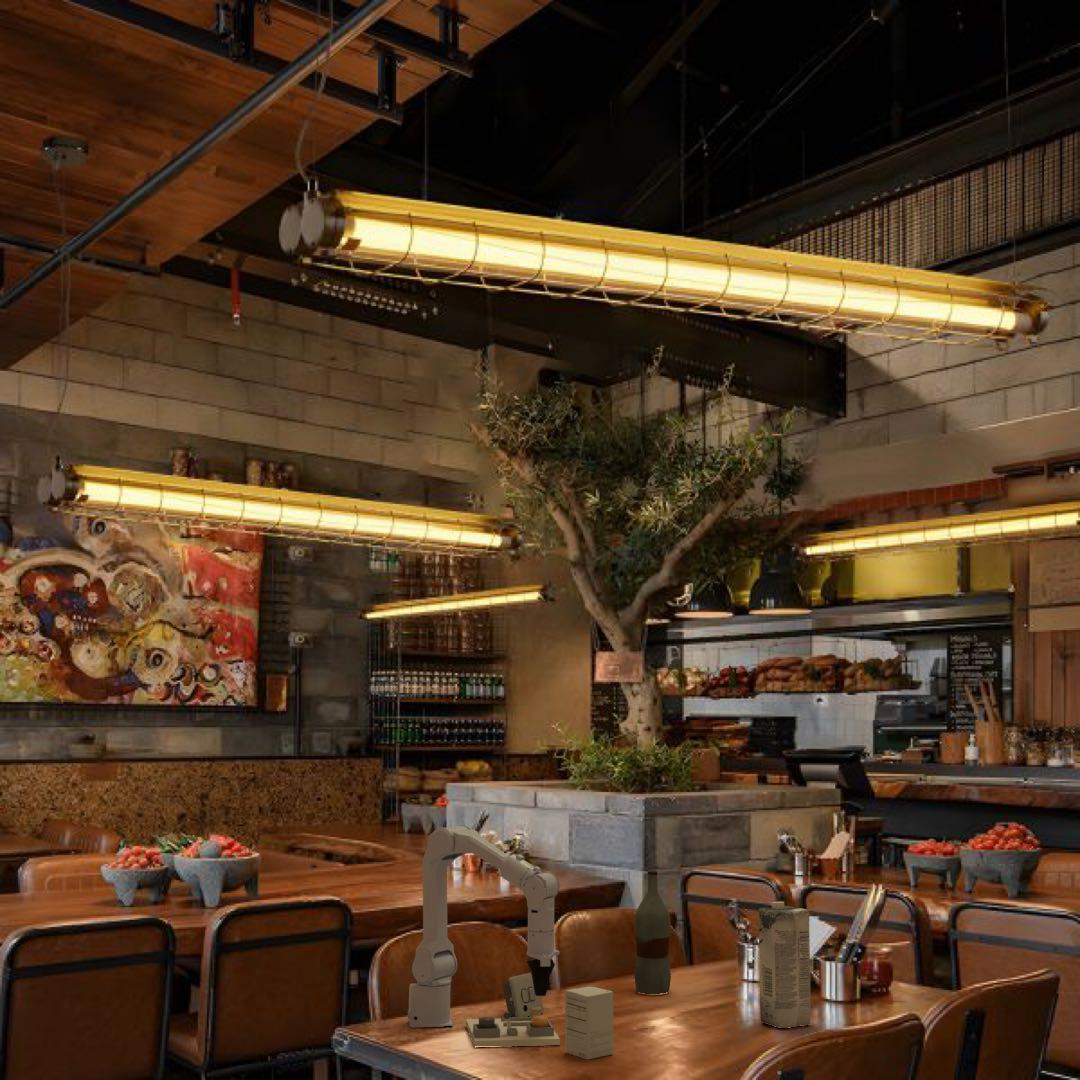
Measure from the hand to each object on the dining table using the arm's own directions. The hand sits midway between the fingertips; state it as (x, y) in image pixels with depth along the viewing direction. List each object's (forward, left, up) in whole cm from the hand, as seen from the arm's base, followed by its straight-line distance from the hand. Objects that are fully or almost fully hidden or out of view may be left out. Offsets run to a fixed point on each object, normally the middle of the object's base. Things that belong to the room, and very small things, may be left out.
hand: (540, 995), depth 289 cm
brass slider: (0, +10, -8) cm, 13 cm away
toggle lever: (-6, 0, -8) cm, 10 cm away
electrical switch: (-1, +25, -10) cm, 27 cm away
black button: (-12, 0, -6) cm, 13 cm away
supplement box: (+8, -12, -10) cm, 18 cm away
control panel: (-6, +5, -9) cm, 12 cm away
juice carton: (+57, +9, -10) cm, 59 cm away
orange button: (0, 0, -6) cm, 6 cm away
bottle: (+35, +47, -10) cm, 60 cm away
